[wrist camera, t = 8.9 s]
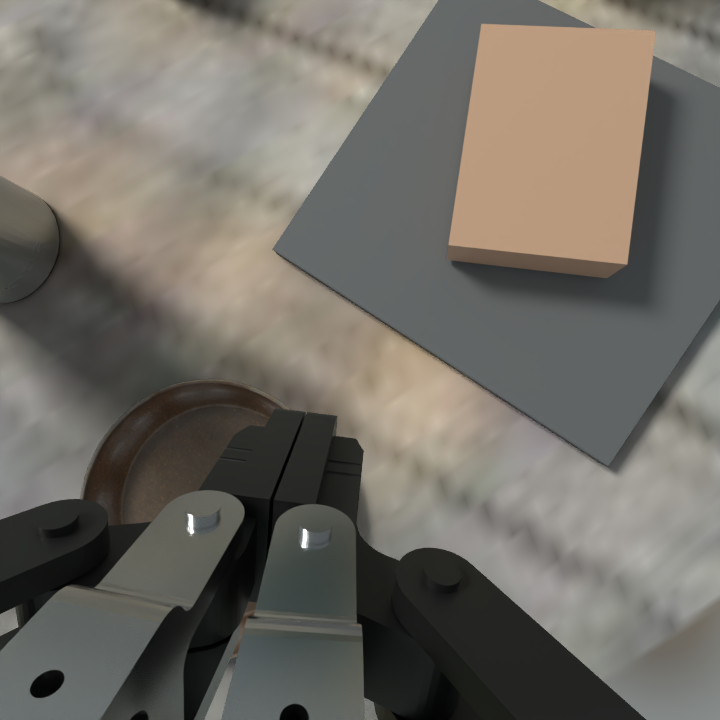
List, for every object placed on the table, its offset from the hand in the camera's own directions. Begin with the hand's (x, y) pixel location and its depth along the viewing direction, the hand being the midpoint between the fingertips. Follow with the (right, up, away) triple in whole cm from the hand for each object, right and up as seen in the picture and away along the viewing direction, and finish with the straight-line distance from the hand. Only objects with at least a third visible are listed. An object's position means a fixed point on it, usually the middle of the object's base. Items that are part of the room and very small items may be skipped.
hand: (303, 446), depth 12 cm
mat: (+13, +13, +21) cm, 27 cm away
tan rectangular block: (+12, +8, +17) cm, 23 cm away
